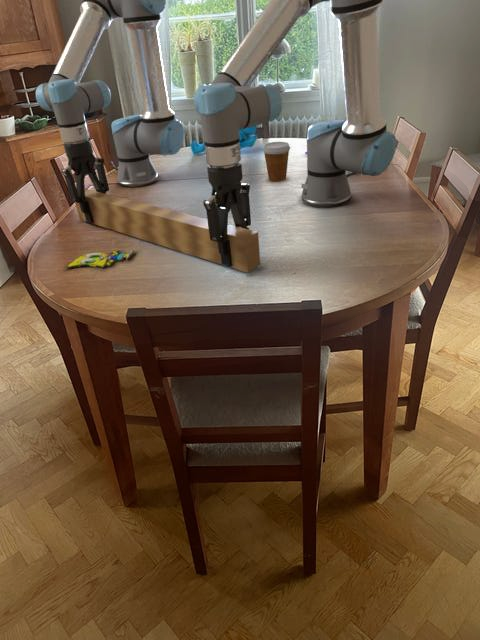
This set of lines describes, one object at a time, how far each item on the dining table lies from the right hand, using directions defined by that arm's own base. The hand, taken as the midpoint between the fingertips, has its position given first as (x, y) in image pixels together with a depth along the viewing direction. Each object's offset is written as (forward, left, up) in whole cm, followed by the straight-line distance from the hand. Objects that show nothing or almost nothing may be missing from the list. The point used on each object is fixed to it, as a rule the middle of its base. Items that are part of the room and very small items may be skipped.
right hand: (234, 260), depth 116 cm
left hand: (-6, -56, 0) cm, 56 cm away
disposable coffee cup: (-64, -25, -2) cm, 68 cm away
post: (-3, -28, -1) cm, 28 cm away
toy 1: (+12, -34, -2) cm, 36 cm away
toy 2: (-90, -67, -2) cm, 112 cm away
